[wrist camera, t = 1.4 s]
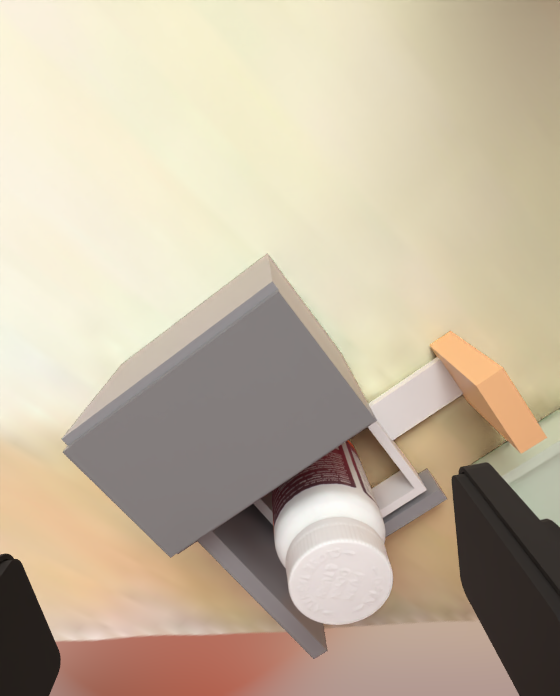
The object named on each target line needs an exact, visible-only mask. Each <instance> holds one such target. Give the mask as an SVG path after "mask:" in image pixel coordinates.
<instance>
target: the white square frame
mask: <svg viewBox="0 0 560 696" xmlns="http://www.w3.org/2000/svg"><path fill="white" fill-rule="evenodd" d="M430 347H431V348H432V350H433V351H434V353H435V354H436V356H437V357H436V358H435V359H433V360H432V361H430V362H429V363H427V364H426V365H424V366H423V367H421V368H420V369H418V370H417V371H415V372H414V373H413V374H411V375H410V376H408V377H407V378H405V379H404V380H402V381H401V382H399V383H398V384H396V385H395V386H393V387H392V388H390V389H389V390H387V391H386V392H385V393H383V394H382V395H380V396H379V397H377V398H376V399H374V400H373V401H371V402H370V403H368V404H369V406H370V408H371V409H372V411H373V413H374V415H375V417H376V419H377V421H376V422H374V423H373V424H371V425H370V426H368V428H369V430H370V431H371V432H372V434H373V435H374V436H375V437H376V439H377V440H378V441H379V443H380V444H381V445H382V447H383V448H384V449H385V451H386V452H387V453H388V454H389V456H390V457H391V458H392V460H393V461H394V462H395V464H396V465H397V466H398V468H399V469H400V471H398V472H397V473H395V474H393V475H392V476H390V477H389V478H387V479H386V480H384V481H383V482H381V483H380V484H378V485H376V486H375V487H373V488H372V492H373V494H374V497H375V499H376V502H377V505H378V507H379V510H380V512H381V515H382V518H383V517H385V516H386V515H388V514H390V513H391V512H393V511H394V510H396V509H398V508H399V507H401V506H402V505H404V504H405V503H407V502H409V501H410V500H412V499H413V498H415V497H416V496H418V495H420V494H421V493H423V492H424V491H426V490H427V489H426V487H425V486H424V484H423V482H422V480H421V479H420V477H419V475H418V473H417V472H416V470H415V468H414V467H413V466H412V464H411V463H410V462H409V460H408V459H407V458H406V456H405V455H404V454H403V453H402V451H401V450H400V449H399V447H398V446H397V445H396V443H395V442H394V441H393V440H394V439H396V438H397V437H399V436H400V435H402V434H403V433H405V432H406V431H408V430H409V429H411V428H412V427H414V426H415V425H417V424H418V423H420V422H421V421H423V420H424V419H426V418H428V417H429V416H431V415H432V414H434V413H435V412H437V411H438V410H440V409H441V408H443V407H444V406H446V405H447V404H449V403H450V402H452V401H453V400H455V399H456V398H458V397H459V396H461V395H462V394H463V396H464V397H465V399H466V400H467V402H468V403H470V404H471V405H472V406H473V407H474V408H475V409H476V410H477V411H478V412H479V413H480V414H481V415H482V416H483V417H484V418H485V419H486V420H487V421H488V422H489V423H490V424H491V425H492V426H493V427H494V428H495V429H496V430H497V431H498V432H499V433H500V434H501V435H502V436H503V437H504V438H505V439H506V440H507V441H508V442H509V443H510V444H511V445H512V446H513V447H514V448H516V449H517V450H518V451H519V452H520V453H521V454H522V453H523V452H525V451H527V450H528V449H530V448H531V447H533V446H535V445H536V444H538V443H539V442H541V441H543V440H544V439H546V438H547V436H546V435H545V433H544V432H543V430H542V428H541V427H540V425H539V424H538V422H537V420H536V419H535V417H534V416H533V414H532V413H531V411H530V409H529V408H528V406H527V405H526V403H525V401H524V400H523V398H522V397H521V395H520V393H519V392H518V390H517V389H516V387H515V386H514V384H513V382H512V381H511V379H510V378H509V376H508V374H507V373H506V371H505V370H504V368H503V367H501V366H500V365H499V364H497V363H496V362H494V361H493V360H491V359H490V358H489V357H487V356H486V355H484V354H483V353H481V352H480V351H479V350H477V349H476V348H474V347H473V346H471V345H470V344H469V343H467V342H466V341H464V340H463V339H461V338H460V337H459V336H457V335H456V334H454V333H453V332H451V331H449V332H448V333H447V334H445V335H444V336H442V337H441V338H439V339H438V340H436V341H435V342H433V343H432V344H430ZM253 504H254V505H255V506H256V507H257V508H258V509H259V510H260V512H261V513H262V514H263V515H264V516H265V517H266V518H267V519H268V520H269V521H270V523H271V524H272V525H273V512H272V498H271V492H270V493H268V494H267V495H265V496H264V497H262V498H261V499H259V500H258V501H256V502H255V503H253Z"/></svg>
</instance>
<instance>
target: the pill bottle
mask: <svg viewBox="0 0 560 696" xmlns="http://www.w3.org/2000/svg"><path fill="white" fill-rule="evenodd" d="M271 498H272V512H273V527H274V542H275V548H276V552H277V555H278V557H279V559H280V561H281V563H282V564H283V566H284V567H285V568H286V574H287V581H288V589H289V594H290V597H291V599H292V601H293V603H294V605H295V606H296V608H297V609H298V610H299V611H300V612H301V613H302V614H304V615H305V616H307V617H308V618H310V619H312V620H314V621H317V622H319V623H324V624H329V625H344V624H350V623H354V622H357V621H360V620H363V619H365V618H367V617H369V616H371V615H372V614H373V613H375V612H376V611H377V610H378V609H379V608H380V607H381V606H382V605H383V604H384V603H385V602H386V600H387V599H388V597H389V595H390V592H391V589H392V585H393V572H392V568H391V564H390V561H389V558H388V555H387V551H386V548H385V545H384V543H385V525H384V521H383V518H382V515H381V512H380V510H379V507H378V505H377V502H376V499H375V497H374V494H373V492H372V489H371V487H370V485H369V482H368V479H367V477H366V474H365V472H364V469H363V467H362V464H361V462H360V459H359V457H358V455H357V452H356V450H355V448H354V446H353V445H352V443H351V442H350V440H348V441H346V442H345V443H343V444H342V445H340V446H339V447H337V448H336V449H334V450H333V451H331V452H330V453H328V454H327V455H325V456H324V457H322V458H321V459H319V460H318V461H316V462H315V463H313V464H312V465H310V466H309V467H307V468H306V469H304V470H303V471H301V472H300V473H298V474H297V475H295V476H294V477H292V478H291V479H289V480H288V481H286V482H285V483H283V484H282V485H280V486H279V487H277V488H276V489H274V490H273V491H271Z"/></svg>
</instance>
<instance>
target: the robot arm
mask: <svg viewBox="0 0 560 696" xmlns="http://www.w3.org/2000/svg"><path fill="white" fill-rule="evenodd" d="M452 490H453V501H454V512H455V523H456V534H457V545H458V556H459V567H460V577H461V582H462V586H463V589H464V591H465V594H466V596H467V598H468V600H469V602H470V604H471V605H472V607H473V609H474V611H475V613H476V615H477V617H478V618H479V620H480V622H481V624H482V626H483V628H484V630H485V632H486V633H487V635H488V637H489V639H490V641H491V643H492V645H493V647H494V648H495V650H496V652H497V654H498V656H499V658H500V659H501V662H502V663H503V665H504V667H505V669H506V671H507V673H508V674H509V677H510V678H511V680H512V682H513V684H514V686H515V688H516V689H517V691H518V693H519V695H520V696H560V527H559V526H558V525H557V524H556V523H555V522H553V521H552V520H550V519H542V520H540V519H539V518H538V517H537V516H536V515H535V514H534V512H533V511H532V510H531V509H530V508H529V507H528V506H527V505H526V504H525V502H524V501H523V500H522V499H521V498H520V497H519V496H518V495H517V493H516V492H515V491H514V490H513V489H512V488H511V487H510V486H509V484H508V483H507V482H506V481H505V480H504V479H503V478H502V477H501V476H500V474H499V473H498V472H497V471H496V470H495V469H494V468H493V467H492V465H491V464H489V463H488V462H484V463H479V464H473V465H468V466H463V467H460V469H459V475H454V476H452ZM59 669H60V653H59V650H58V647H57V645H56V643H55V640H54V638H53V636H52V633H51V631H50V629H49V626H48V624H47V622H46V619H45V617H44V615H43V612H42V610H41V607H40V605H39V603H38V600H37V598H36V596H35V593H34V591H33V589H32V586H31V584H30V582H29V579H28V577H27V575H26V572H25V570H24V568H23V565H22V563H21V562H20V561H19V560H18V559H14V558H13V557H12V556H11V555H10V554H1V555H0V696H49V694H50V692H51V689H52V687H53V685H54V682H55V680H56V677H57V675H58V672H59Z"/></svg>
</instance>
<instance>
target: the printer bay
mask: <svg viewBox="0 0 560 696" xmlns="http://www.w3.org/2000/svg"><path fill="white" fill-rule="evenodd" d="M376 421H377V419H376V417H375V415H374V413H373V411H372V409H371V408H370V406H369V404H368V402H367V400H366V398H365V396H364V395H363V393H362V391H361V389H360V387H359V385H358V383H357V381H356V380H355V378H354V376H353V374H352V372H351V370H350V368H349V366H348V365H347V363H346V361H345V359H344V357H343V355H342V353H341V352H340V350H339V349H338V348H337V346H336V345H335V344H334V342H333V341H332V340H331V338H330V337H329V336H328V334H327V333H326V332H325V330H324V329H323V328H322V326H321V325H320V324H319V322H318V321H317V319H316V318H315V317H314V315H313V314H312V313H311V311H310V310H309V309H308V307H307V306H306V305H305V303H304V302H303V301H302V299H301V298H300V297H299V295H298V294H297V293H296V291H295V290H294V288H293V287H292V286H291V284H290V283H289V282H288V280H287V279H286V278H285V276H284V275H283V274H282V272H281V271H280V270H279V268H278V267H277V266H276V264H275V263H274V262H273V260H272V259H271V258H270V256H269V255H268V253H267V254H266V255H265V256H263V257H262V258H261V259H259V260H258V261H257V262H255V263H254V264H253V265H251V266H250V267H249V268H248V269H246V270H245V271H244V272H242V273H241V274H240V275H238V276H237V277H236V278H234V279H233V280H232V281H230V282H229V283H228V284H226V285H225V286H224V287H223V288H221V289H220V290H219V291H217V292H216V293H215V294H213V295H212V296H211V297H209V298H208V299H207V300H205V301H204V302H203V303H201V304H200V305H199V306H198V307H196V308H195V309H194V310H192V311H191V312H190V313H188V314H187V315H186V316H184V317H183V318H182V319H180V320H179V321H178V322H176V323H175V324H174V325H173V326H171V327H170V328H169V329H167V330H166V331H165V332H163V333H162V334H161V335H159V336H158V337H157V338H155V339H154V340H153V341H152V342H150V343H149V344H148V345H146V346H145V347H144V348H142V349H141V350H140V351H138V352H137V353H136V354H134V355H133V356H132V357H130V358H129V359H128V360H127V361H125V362H124V363H123V364H121V366H120V367H119V368H118V369H117V370H116V372H115V373H114V374H113V375H112V377H111V378H110V379H109V380H108V382H107V383H106V384H105V385H104V387H103V388H102V389H101V390H100V392H99V393H98V394H97V395H96V397H95V398H94V399H93V400H92V402H91V403H90V404H89V405H88V407H87V408H86V409H85V410H84V412H83V413H82V414H81V415H80V416H79V418H78V419H77V420H76V421H75V423H74V424H73V425H72V426H71V428H70V429H69V430H68V431H67V433H66V434H65V435H64V436H63V438H62V440H63V441H64V442H65V443H66V444H67V445H68V446H67V447H66V448H65V450H64V451H63V453H64V454H65V455H66V456H67V457H68V458H69V459H70V460H71V461H72V462H73V463H74V464H75V465H76V466H77V467H78V468H79V469H80V470H81V471H82V472H83V473H84V474H85V475H86V476H87V477H88V478H89V479H90V480H92V481H93V482H94V483H95V484H96V485H97V486H98V487H99V488H100V489H101V490H102V491H103V492H104V493H105V494H106V495H107V496H108V497H109V498H110V499H111V500H112V501H113V502H114V503H115V504H116V505H117V506H118V507H119V508H120V509H121V510H122V511H123V512H124V513H125V514H126V515H127V516H128V517H129V518H130V519H131V520H132V521H134V522H135V523H136V524H137V525H138V526H139V527H140V528H141V529H142V530H143V531H144V532H145V533H146V534H147V535H148V536H149V537H150V538H151V539H152V540H153V541H154V542H155V543H156V544H157V545H158V546H159V547H160V548H161V549H162V550H163V551H164V552H165V553H166V554H167V555H168V556H169V557H170V558H171V557H172V556H174V555H175V554H179V553H180V552H182V551H183V550H185V549H186V548H188V547H189V546H191V545H192V544H194V543H195V542H197V541H198V542H199V543H200V544H201V545H202V546H203V547H204V548H205V549H206V550H207V551H208V552H209V553H210V554H211V555H212V556H213V557H214V558H215V559H216V560H217V561H218V562H219V563H220V565H221V566H222V567H223V568H224V569H225V570H226V571H227V572H228V573H229V574H230V575H231V576H232V577H233V578H234V579H235V580H236V581H237V582H238V583H239V584H240V585H241V586H242V587H243V588H244V589H245V590H246V591H247V592H248V593H249V594H250V595H251V596H252V597H253V598H254V599H255V600H256V601H257V602H258V603H259V604H260V605H261V606H262V607H263V608H264V609H265V610H266V611H267V612H268V613H269V614H270V615H271V616H272V617H273V618H274V619H275V620H276V621H277V622H278V623H279V624H280V625H281V626H282V627H283V628H284V629H285V630H286V631H287V632H288V633H289V634H290V635H291V636H292V637H293V638H294V639H295V641H297V643H299V645H300V646H301V647H302V648H303V649H305V651H306V652H307V653H308V654H309V655H310V656H311V657H313V659H315V658H316V657H318V656H320V655H321V654H323V653H325V652H326V651H327V645H326V639H325V632H324V625H323V623H319V622H317V621H314V620H312V619H310V618H308V617H307V616H305V615H304V614H302V613H301V612H300V611H299V610H298V609H297V608H296V606H295V605H294V603H293V601H292V599H291V597H290V594H289V589H288V581H287V574H286V568H285V567H284V566H283V564H282V563H281V561H280V559H279V557H278V555H277V552H276V548H275V542H274V527H273V525H272V524H271V523H270V521H269V520H268V519H267V518H266V517H265V516H264V515H263V514H262V513H261V512H260V510H259V509H258V508H257V507H256V506H255V505H254V504H253V503H255V502H256V501H258V500H259V499H261V498H262V497H264V496H265V495H267V494H268V493H270V492H271V491H273V490H274V489H276V488H277V487H279V486H280V485H282V484H283V483H285V482H286V481H288V480H289V479H291V478H292V477H294V476H295V475H297V474H298V473H300V472H301V471H303V470H304V469H306V468H307V467H309V466H310V465H312V464H313V463H315V462H316V461H318V460H319V459H321V458H322V457H324V456H325V455H327V454H328V453H330V452H331V451H333V450H334V449H336V448H337V447H339V446H340V445H342V444H343V443H345V442H346V441H348V440H349V439H351V438H352V437H354V436H355V435H356V434H358V433H359V432H361V431H362V430H364V429H365V428H367V427H368V426H370V425H371V424H373V423H374V422H376ZM418 475H419V477H420V479H421V480H422V482H423V484H424V486H425V487H426V489H427V490H426V491H424V492H423V493H421V494H420V495H418V496H416V497H415V498H413V499H412V500H410V501H409V502H407V503H405V504H404V505H402V506H401V507H399V508H398V509H396V510H394V511H393V512H391V513H390V514H388V515H386V516H385V517H383V521H384V525H385V537H387V536H389V535H390V534H392V533H393V532H395V531H397V530H398V529H400V528H401V527H403V526H405V525H406V524H408V523H409V522H411V521H413V520H414V519H416V518H417V517H419V516H421V515H422V514H424V513H425V512H427V511H429V510H430V509H432V508H433V507H435V506H437V505H438V504H440V503H441V502H443V501H445V500H446V499H447V498H446V496H445V494H444V493H443V491H442V490H441V488H440V486H439V485H438V483H437V482H436V480H435V478H434V477H433V476H432V474H431V473H430V472H429V470H428V469H425V470H424V471H422V472H421V473H419V474H418Z"/></svg>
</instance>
